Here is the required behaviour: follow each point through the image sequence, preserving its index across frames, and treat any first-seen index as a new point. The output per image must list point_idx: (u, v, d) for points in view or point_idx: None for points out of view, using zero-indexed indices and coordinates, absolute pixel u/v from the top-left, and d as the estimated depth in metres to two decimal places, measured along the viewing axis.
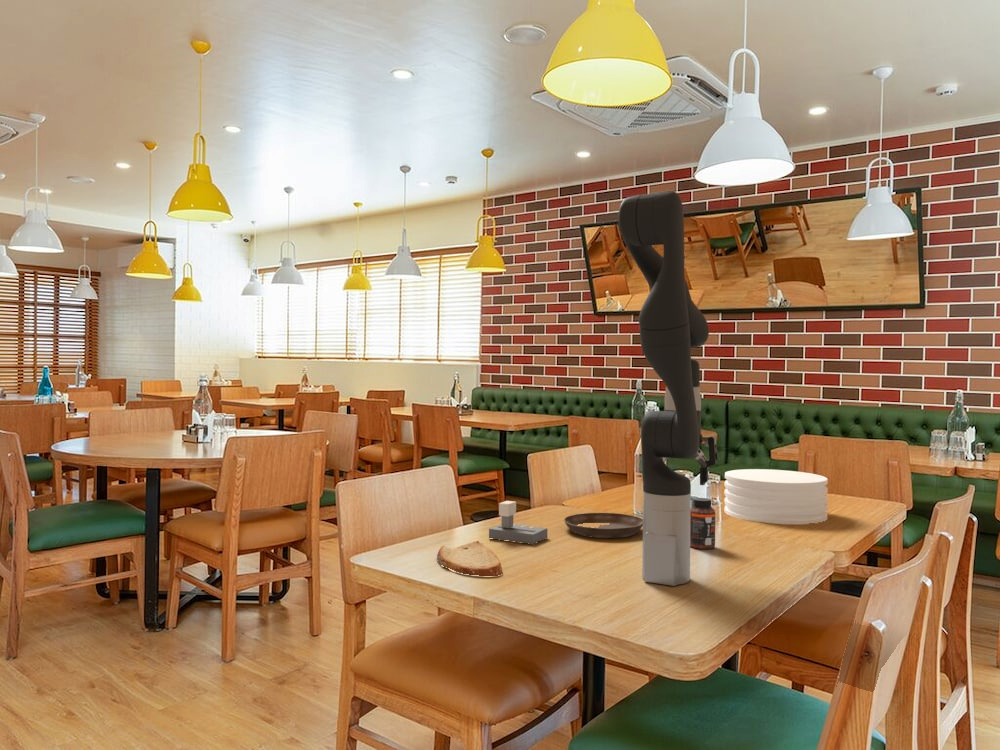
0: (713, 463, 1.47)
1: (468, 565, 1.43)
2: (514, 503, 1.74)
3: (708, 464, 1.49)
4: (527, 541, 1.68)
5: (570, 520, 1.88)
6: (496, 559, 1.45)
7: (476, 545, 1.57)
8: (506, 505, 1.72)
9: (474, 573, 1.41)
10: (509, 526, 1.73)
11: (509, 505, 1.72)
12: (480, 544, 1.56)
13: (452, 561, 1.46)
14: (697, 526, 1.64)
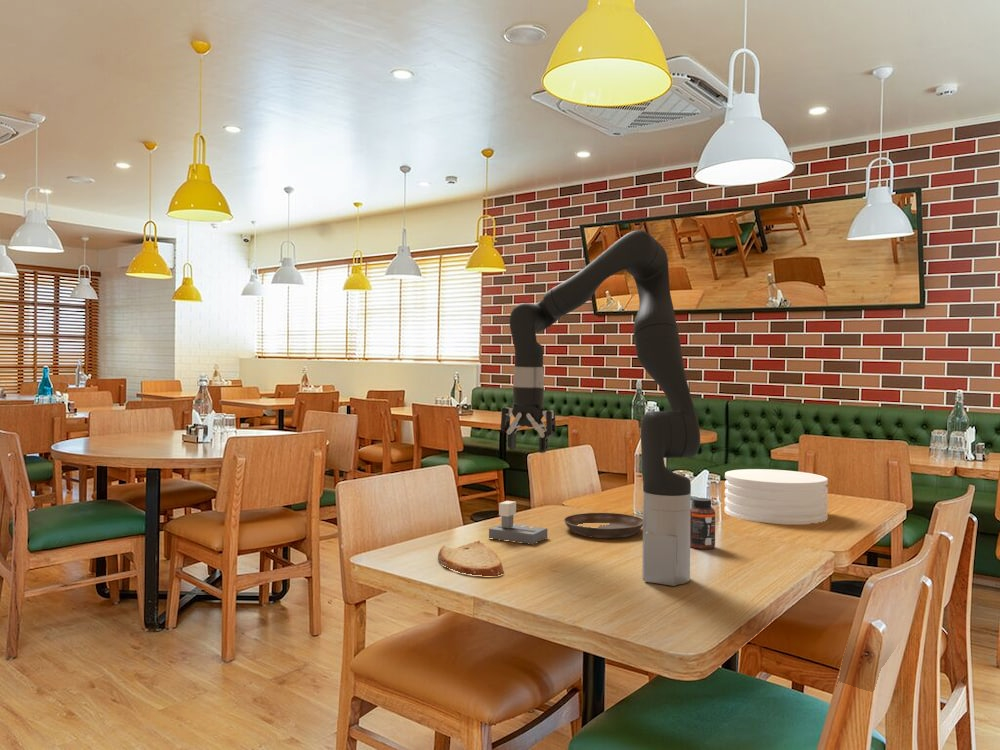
0: (549, 433, 1.69)
1: (469, 565, 1.43)
2: (514, 503, 1.74)
3: (546, 434, 1.70)
4: (527, 541, 1.68)
5: (570, 520, 1.88)
6: (497, 559, 1.45)
7: (477, 545, 1.57)
8: (506, 505, 1.72)
9: (475, 573, 1.41)
10: (509, 526, 1.73)
11: (509, 505, 1.72)
12: (481, 544, 1.56)
13: (453, 561, 1.46)
14: (697, 526, 1.64)
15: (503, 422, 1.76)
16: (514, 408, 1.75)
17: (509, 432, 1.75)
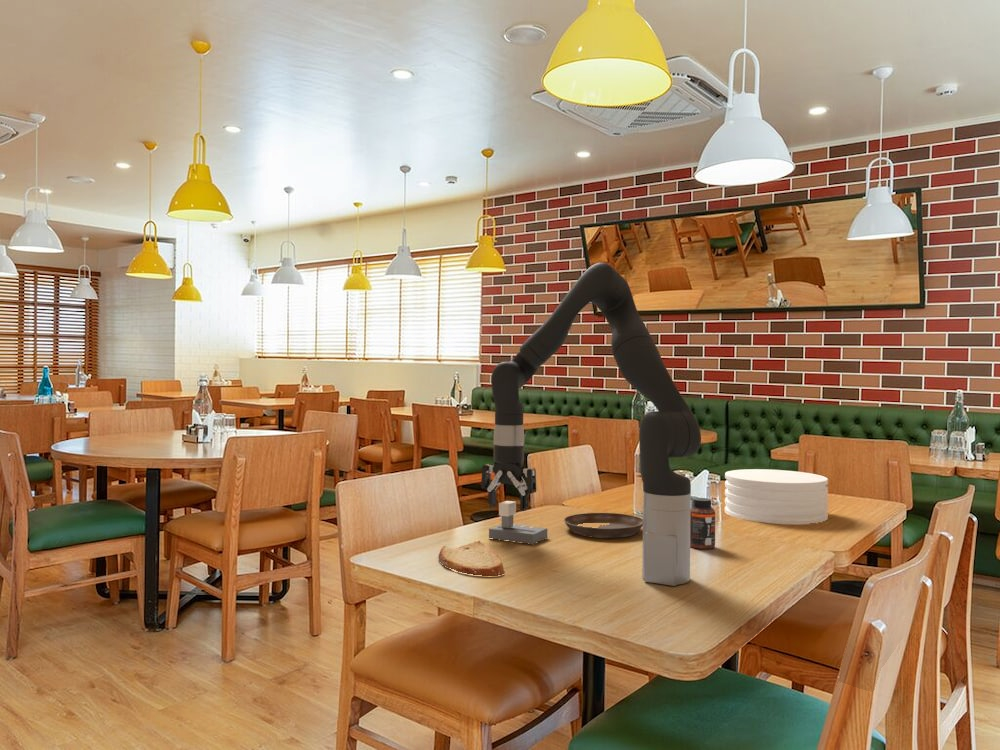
0: (530, 492, 1.70)
1: (470, 565, 1.43)
2: (514, 503, 1.74)
3: (527, 493, 1.71)
4: (527, 541, 1.68)
5: (570, 520, 1.88)
6: (498, 559, 1.45)
7: (477, 545, 1.57)
8: (506, 505, 1.72)
9: (476, 573, 1.41)
10: (509, 526, 1.73)
11: (509, 505, 1.72)
12: (481, 544, 1.56)
13: (454, 561, 1.46)
14: (697, 526, 1.64)
15: (483, 479, 1.76)
16: (495, 465, 1.75)
17: (490, 489, 1.75)
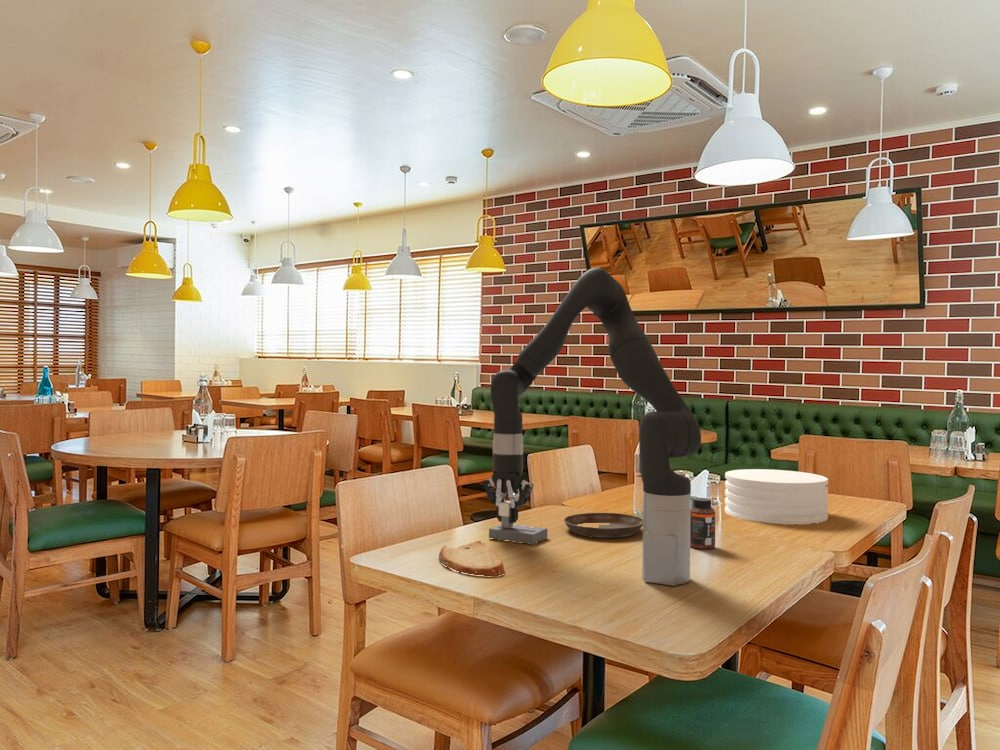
0: (520, 504, 1.71)
1: (470, 565, 1.43)
2: None
3: (516, 505, 1.72)
4: (527, 541, 1.68)
5: (570, 520, 1.88)
6: (498, 559, 1.45)
7: (477, 545, 1.57)
8: (506, 505, 1.72)
9: (476, 573, 1.41)
10: (509, 526, 1.73)
11: (509, 505, 1.72)
12: (482, 544, 1.56)
13: (454, 561, 1.46)
14: (697, 526, 1.64)
15: (489, 494, 1.75)
16: (492, 475, 1.74)
17: (498, 503, 1.73)
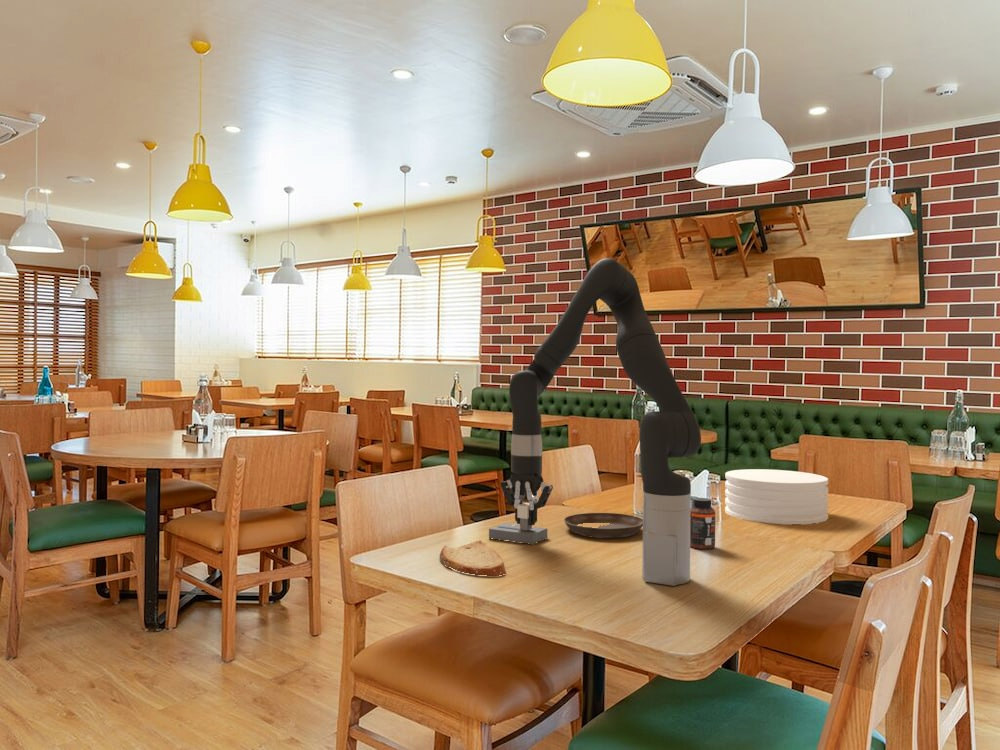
0: (539, 506, 1.68)
1: (471, 565, 1.43)
2: None
3: (535, 507, 1.69)
4: (527, 541, 1.68)
5: (570, 520, 1.88)
6: (499, 559, 1.45)
7: (478, 544, 1.57)
8: (525, 507, 1.69)
9: (477, 573, 1.41)
10: (528, 528, 1.70)
11: (528, 507, 1.69)
12: (482, 544, 1.56)
13: (455, 561, 1.46)
14: (697, 526, 1.64)
15: (507, 496, 1.72)
16: (511, 477, 1.72)
17: (517, 505, 1.71)
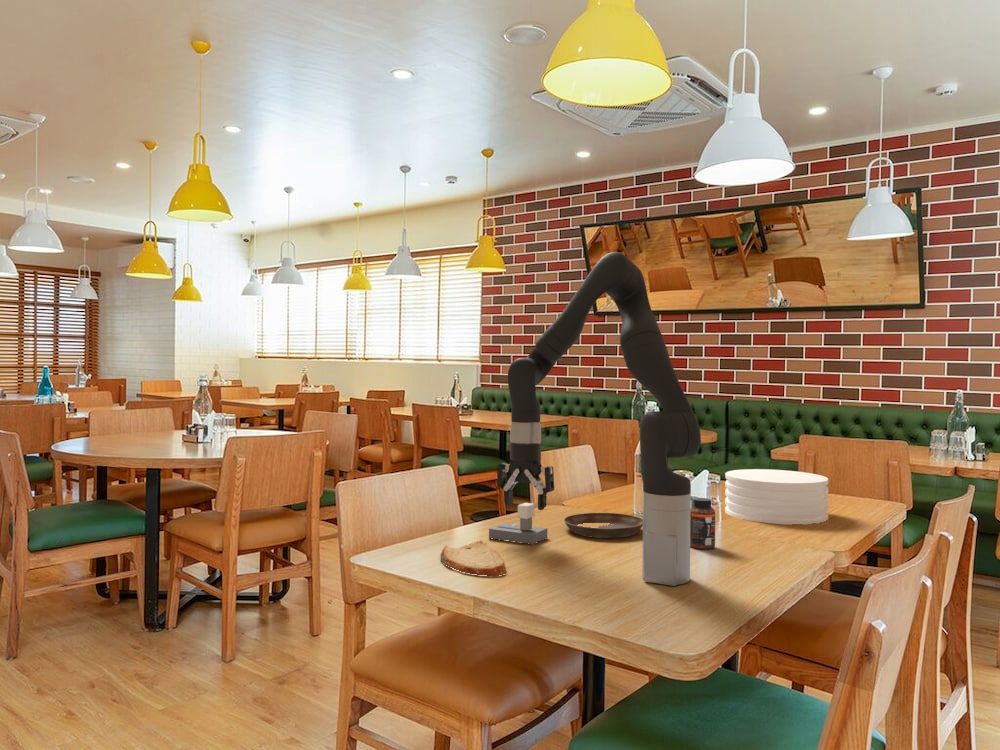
0: (548, 490, 1.66)
1: (472, 565, 1.43)
2: (533, 505, 1.72)
3: (545, 491, 1.67)
4: (527, 541, 1.68)
5: (570, 520, 1.88)
6: (500, 559, 1.45)
7: (479, 545, 1.57)
8: (525, 507, 1.69)
9: (478, 573, 1.41)
10: (528, 528, 1.70)
11: (528, 507, 1.69)
12: (483, 544, 1.56)
13: (456, 561, 1.46)
14: (697, 526, 1.64)
15: (500, 478, 1.73)
16: (511, 464, 1.71)
17: (506, 489, 1.72)
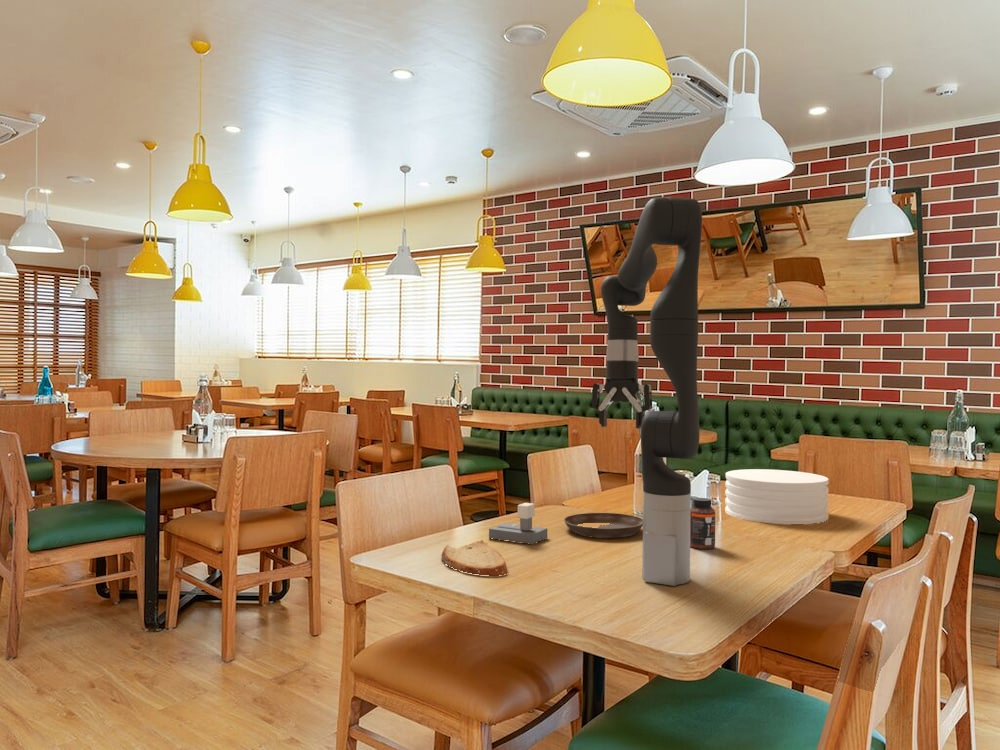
0: (648, 408, 1.64)
1: (473, 564, 1.44)
2: (533, 505, 1.72)
3: (643, 409, 1.65)
4: (527, 541, 1.68)
5: (570, 520, 1.88)
6: (501, 558, 1.46)
7: (480, 544, 1.57)
8: (525, 507, 1.69)
9: (479, 572, 1.41)
10: (528, 528, 1.70)
11: (528, 507, 1.69)
12: (484, 543, 1.56)
13: (457, 560, 1.46)
14: (697, 526, 1.64)
15: (594, 398, 1.70)
16: (607, 383, 1.69)
17: (601, 408, 1.69)
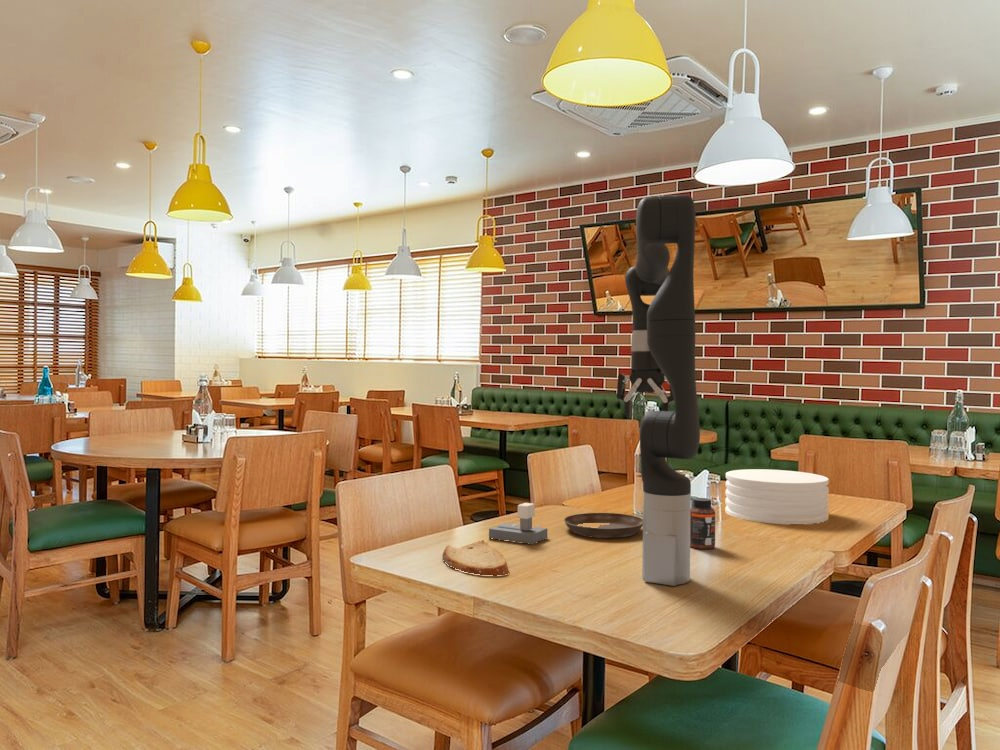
0: (673, 398, 1.63)
1: (474, 564, 1.44)
2: (533, 505, 1.72)
3: (669, 400, 1.65)
4: (527, 541, 1.68)
5: (570, 520, 1.88)
6: (502, 558, 1.46)
7: (481, 544, 1.57)
8: (525, 507, 1.69)
9: (481, 572, 1.41)
10: (528, 528, 1.70)
11: (528, 507, 1.69)
12: (485, 544, 1.56)
13: (458, 561, 1.46)
14: (697, 526, 1.64)
15: (620, 389, 1.70)
16: (632, 374, 1.68)
17: (627, 399, 1.69)
